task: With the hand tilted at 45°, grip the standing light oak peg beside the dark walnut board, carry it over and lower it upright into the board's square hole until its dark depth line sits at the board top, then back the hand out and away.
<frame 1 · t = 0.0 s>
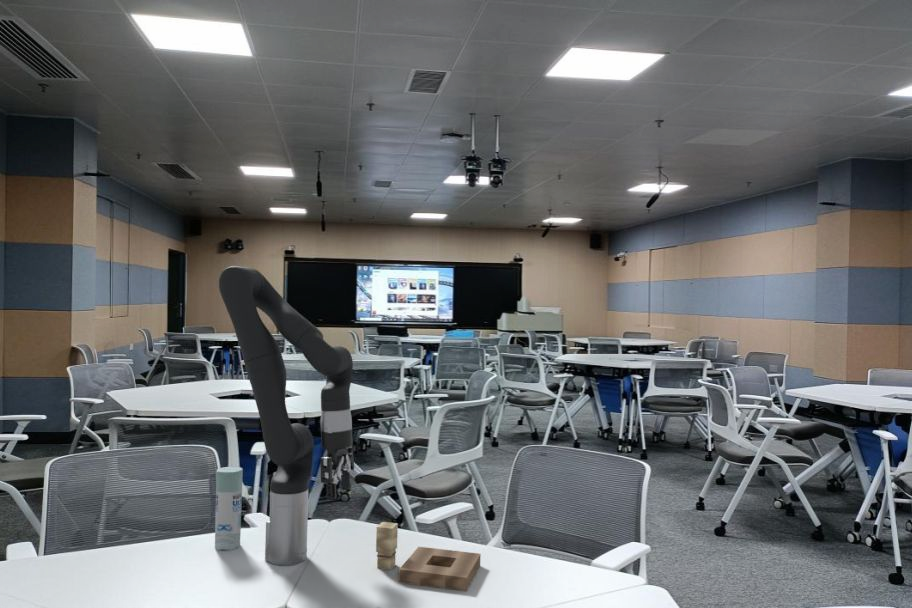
hand: (339, 494, 157), 17 cm above the table, tool pointing down, fingers open, 8 cm apart
oak peg: (386, 566, 157), on the table
walnut board: (440, 573, 153), on the table
spray paint can: (227, 547, 168), on the table
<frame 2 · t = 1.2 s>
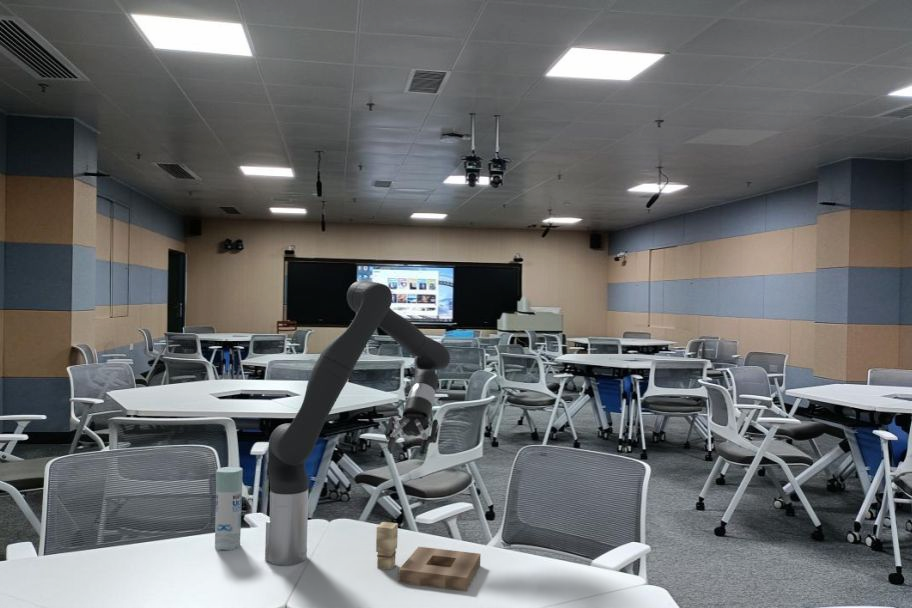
hand: (405, 453, 169), 25 cm above the table, tool tilted 45°, fingers open, 8 cm apart
nothing on the table moved.
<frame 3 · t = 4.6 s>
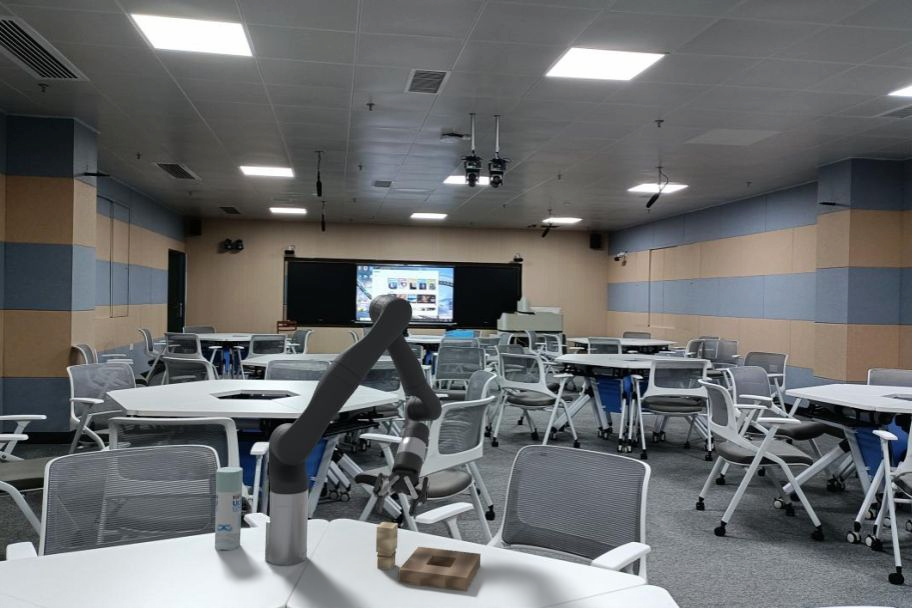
hand: (394, 513, 162), 11 cm above the table, tool tilted 45°, fingers open, 8 cm apart
nothing on the table moved.
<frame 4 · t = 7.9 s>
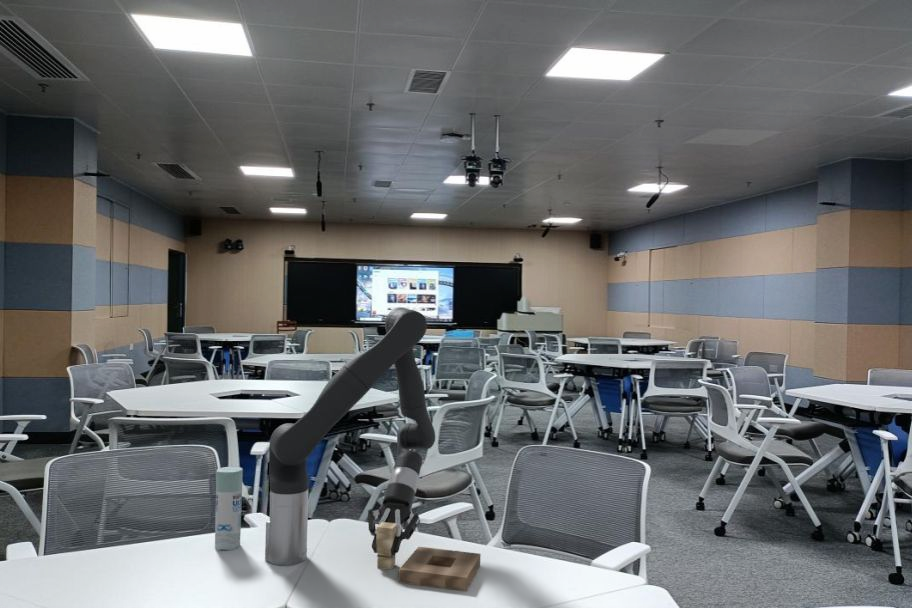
hand: (384, 552, 155), 4 cm above the table, tool tilted 45°, fingers closed on oak peg, 4 cm apart
oak peg: (386, 566, 157), on the table, touching gripper
everything else where it was.
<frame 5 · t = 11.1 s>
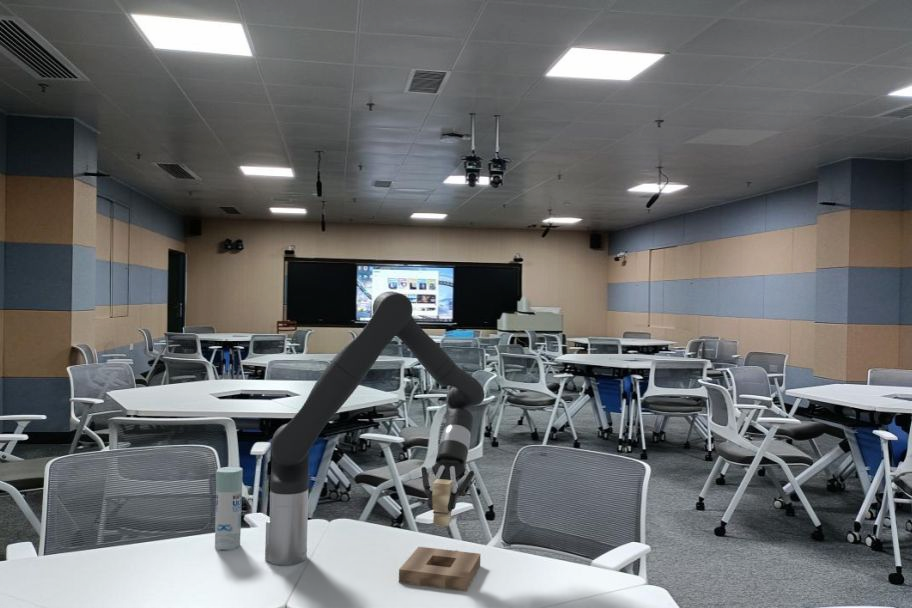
hand: (440, 508, 152), 16 cm above the table, tool tilted 45°, fingers closed on oak peg, 4 cm apart
oak peg: (442, 523, 154), point 12 cm above the table, touching gripper
everything else where it was.
when the fingers open (5 cm above the table, at t = 14.4 s): oak peg stays where it is, resting in walnut board.
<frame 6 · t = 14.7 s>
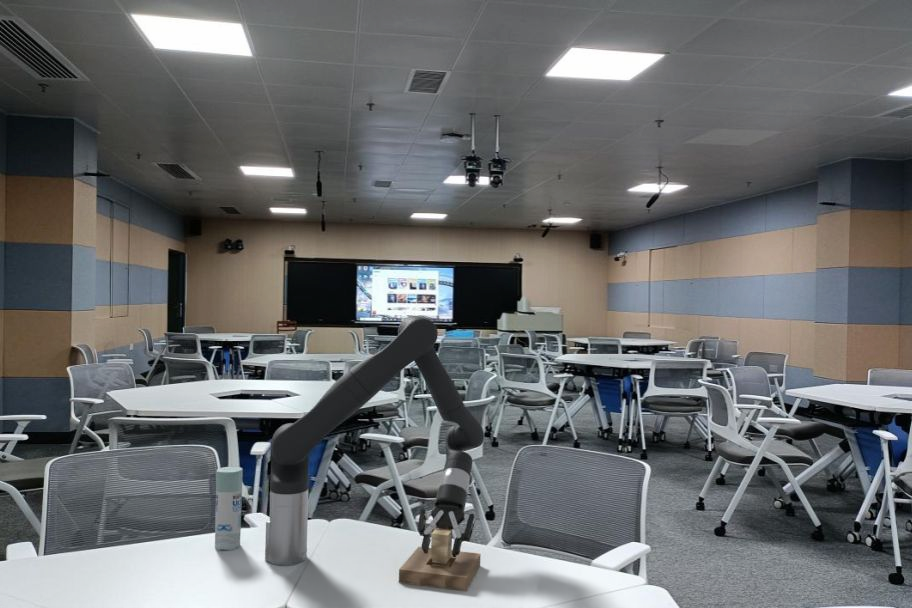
hand: (439, 553, 152), 5 cm above the table, tool tilted 45°, fingers open, 6 cm apart
oak peg: (440, 573, 153), resting in walnut board
everything else where it was.
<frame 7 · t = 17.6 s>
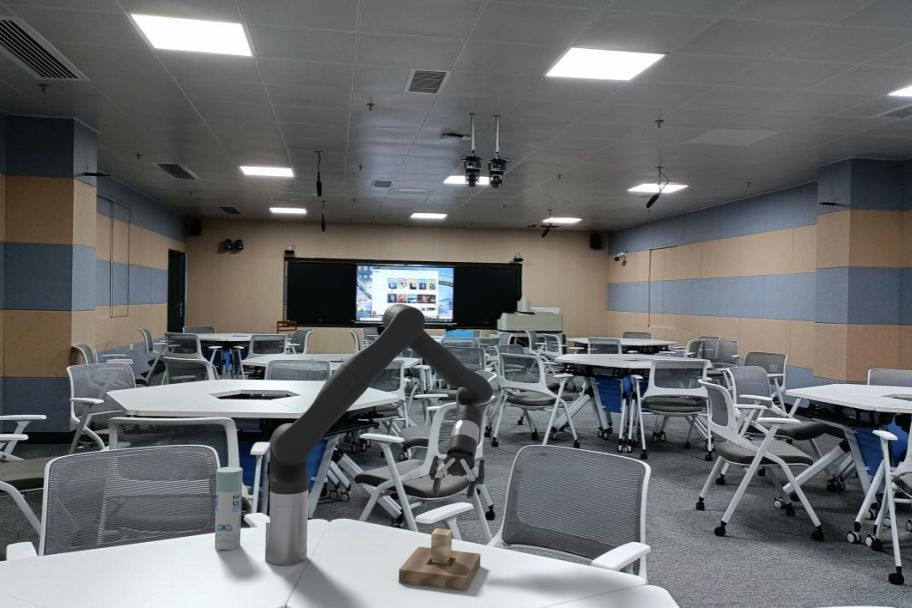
hand: (452, 495, 162), 16 cm above the table, tool tilted 45°, fingers open, 8 cm apart
nothing on the table moved.
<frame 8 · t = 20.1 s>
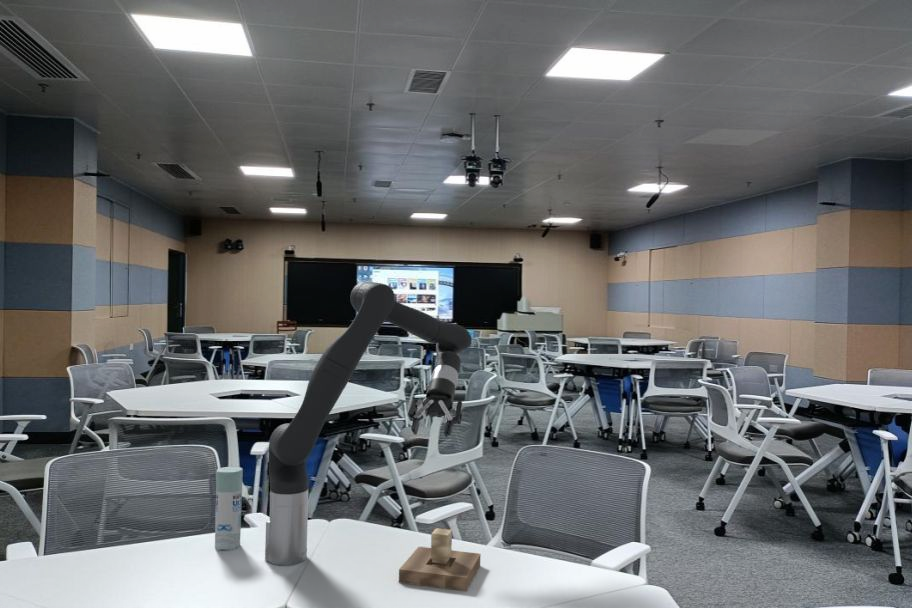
hand: (430, 434, 167), 31 cm above the table, tool tilted 45°, fingers open, 8 cm apart
nothing on the table moved.
at the end: oak peg 0.1 cm off-centre on the walnut board, point 0.0 cm above the walnut board's base; oak peg tilted 0°; the gripper is holding nothing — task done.
